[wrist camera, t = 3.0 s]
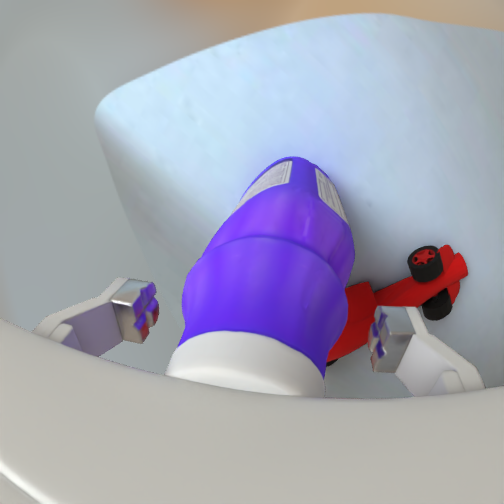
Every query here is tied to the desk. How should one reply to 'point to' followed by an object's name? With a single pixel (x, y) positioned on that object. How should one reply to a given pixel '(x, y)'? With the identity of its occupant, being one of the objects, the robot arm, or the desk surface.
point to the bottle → (270, 288)
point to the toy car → (403, 295)
